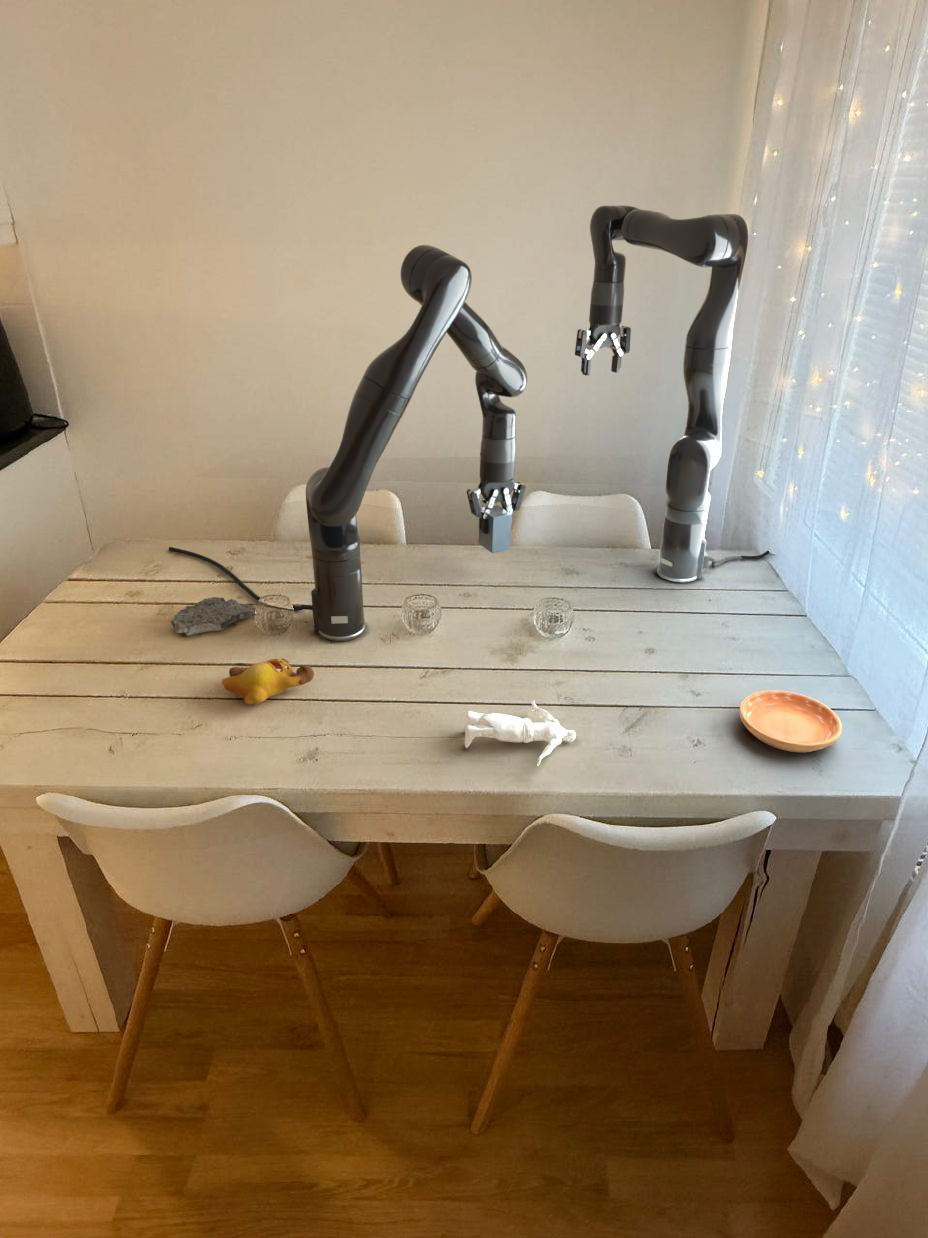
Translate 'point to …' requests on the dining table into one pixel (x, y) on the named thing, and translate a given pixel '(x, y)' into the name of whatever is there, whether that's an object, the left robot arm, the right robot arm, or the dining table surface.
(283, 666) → the toy
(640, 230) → the right robot arm
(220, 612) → the stone slab
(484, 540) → the block
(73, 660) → the dining table surface
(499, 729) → the figurine
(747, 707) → the saucer
